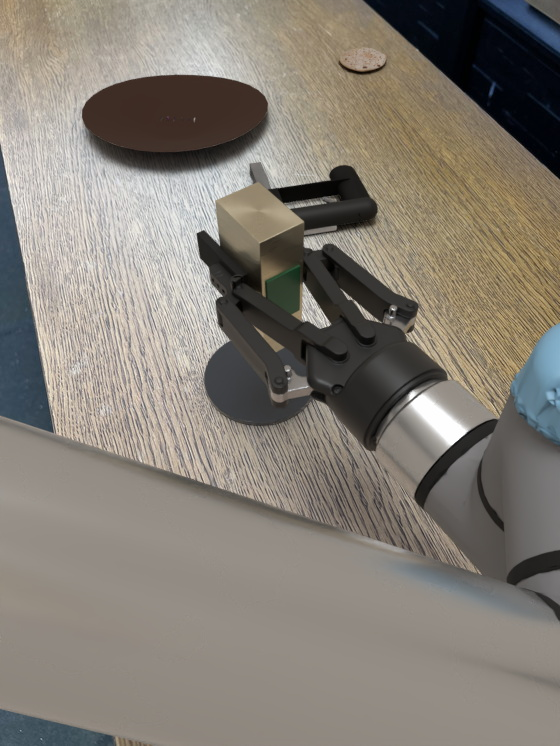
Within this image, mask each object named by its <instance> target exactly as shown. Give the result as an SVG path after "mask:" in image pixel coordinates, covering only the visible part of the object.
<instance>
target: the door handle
mask: <svg viewBox="0 0 560 746" xmlns="http://www.w3.org/2000/svg"><path fill="white" fill-rule="evenodd" d="M248 165H249V176H250V178H251V181H252V184H255V183H257V182H259V183H260V184H261V185H263V186H264V187H265V188H266V189H267V190H268V191H270V192H271V193H272V194H273V195H274V196H275V197H276V198H278V199H279V200H280V201H281V202H282V203H283V204H284V205H285V204H289V203H295V202H302V201H309V200H316V199H322V202H324V203H319V204H311V205H306V206H299V207H293V208H289V209H290V210H291V211H292V212H294V213H295V214H296V215H297V216H298V217H299V218H301V219H302V220H303V221H304V236H308V235H313V234H314V235H315V234H320V233H326V232H327V233H328V232H332V231H333V232H334V231H337V230H338V229H337V228H338V226H343V225H351V224H357V223H359V224H360V225H361V226H362V222H369V221H372V220H373V219H374V218H375V217H376V216H377V213H378V210H379V209H378V203H377V202H376V200H375V199H373V198H372V197H371V196H370V193H369V192H368V190H367V188H366V187H365V185H364V184H363V182H362V179H361V178H360V176H359V174H358V173H357V171H356V169H355V168H354V167H353V166H351V165H348V164H341V165H337V166H335V167H333V168H332V169H331V170H330V171H329V175H328V176H329V180H323V181H315V182H309V183H301V184H295V185H289V186H281V187H275V188H272V186H271V184H270V182H269V181H270V180H269V179H268V176H267V174H266V171H265V169H264V167H263V163H262V161H258V162H250V163H249V164H248ZM334 196H338V197H339V199H340V200H338V201H335V200H333V199H331V198H330V197H334Z"/></svg>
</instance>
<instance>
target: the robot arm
mask: <svg viewBox="0 0 560 746" xmlns="http://www.w3.org/2000/svg"><path fill="white" fill-rule="evenodd" d="M196 240H197V248H198V255H199V259H200V260H201V262H203V263H204V265H206V266H207V267H208V272H209V280H210V283H211V284H210V285H212V287H214V288H215V290H216V291H217V292H218V293H219V294H220V295H221V296H219V297H217V298H216V300H215V303H214V304H215V311H216V318H217V326H218V328H220V330H221V331H222V332H223V334H224V335H225V336H226V337H227V338H228V341H231V342H232V343H233V345H234V346H235V347H236V348H237V349H238V351H239V352H240V353H241V354H242V356H243V357H244V358H245V359H246V361H247V362H248V363H249V364H250V365H251V367H252V368H253V369H254V370H255V372H256V373H257V374H258V375H259V377H260V378H261V379H262V380H263V381H264V383H265V384H266V385H267V389H268V392H269V396H270V400H271V403H272V405H273V406H274V407H275V408H278V409H282V408H284V407H286V406H287V404H288V399H292V398H297V397H302V396H307V395H310V396H311V397H312V400H315V401H316V402H320V403H321V404H324V405H325V406H327V407H328V408H329V409H330V410H331V411H332V413H333V414H334V416H335V417H336V418H337V419H338V420H339V422H340V423H341V424H342V425H343V426H344V427H345V428H346V429H347V431H349V432H350V434H352V436H353V437H354V438H355V439H356V440H357V441H358V442H359V444H360V445H362V446H363V448H365V450H367V451H370V452H375V454H374V456H375V459H376V462H378V463H379V464H380V465H381V467H382V468H383V469H384V470H385V471H386V472H387V473H388V474H389V475H390V476H391V477H392V479H394V480H395V481H396V482H397V484H398V485H399V486H400V487H401V488H402V489H403V490H404V491H405V492H406V493H407V494H408V495H409V496H410V497H411V498H412V499H413V501H414V502H415V503H416V505H418V506H419V507H420V508H421V509H422V511H424V512H425V513H426V514H427V516H429V517H430V518H431V519H432V521H434V523H435V524H436V525H437V526H438V527H439V529H441V530H442V532H444V534H445V535H446V536H447V537H448V538H449V539H450V541H452V543H453V544H454V545H455V546H456V547H457V548H458V549H459V550H460V552H461V553H462V554H463V555H464V556H465V558H467V559H468V560H469V562H470V563H471V564H472V565H473V566H474V567H475V568H476V569H477V570H478V571H479V573H478V572H475V571H473V570H469V569H465V568H463V567H460V566H457V565H454V564H451V563H447V562H446V561H441V560H438V559H436V558H432V557H429V556H427V555H424V554H421V553H417V552H415V551H411V550H408V549H405V548H403V547H399V546H396V545H393V544H391V543H387V542H384V541H381V540H378V539H375V538H373V537H370V536H366V535H363V534H360V533H356V532H354V531H350V530H348V529H346V528H342V527H340V526H335V525H333V524H329V523H327V522H324V521H320V520H317V519H314V518H311V517H309V516H305V515H302V514H299V513H296V512H294V511H290V510H287V509H285V508H281V507H278V506H275V505H272V504H269V503H266V502H263V501H260V500H257V499H254V498H251V497H248V496H245V495H242V494H239V493H236V492H233V491H229V490H226V489H223V488H220V487H218V486H215V485H212V484H209V483H205V482H203V481H200V480H197V479H193V478H190V477H187V476H184V475H182V474H179V473H175V472H173V471H169V470H167V469H163V468H161V467H157V466H154V465H151V464H149V463H145V462H142V461H138V460H136V459H133V458H130V457H127V456H123V455H121V454H118V453H115V452H111V451H109V450H106V449H103V448H99V447H96V446H93V445H90V444H87V443H84V442H82V441H78V440H75V439H72V438H69V437H66V436H63V435H60V434H57V433H54V432H51V431H48V430H45V429H42V428H39V427H36V426H32V425H30V424H27V423H24V422H20V421H18V420H15V419H12V418H9V417H6V416H3V415H0V710H1V711H2V710H3V711H7V712H11V713H15V714H19V715H24V716H28V717H32V718H36V719H40V720H45V721H49V722H53V723H57V724H61V725H65V726H69V727H74V728H78V729H82V730H86V731H91V732H95V733H99V734H104V735H107V736H112V737H115V738H121V739H124V740H128V741H132V742H136V743H141V744H145V745H149V746H560V322H558V323H556V324H555V325H553V326H551V327H550V328H549V329H548V330H547V331H545V332H544V333H543V335H542V336H541V337H540V338H539V339H538V340H537V342H536V344H535V345H534V347H533V349H532V351H531V352H530V354H529V356H528V358H527V360H526V361H525V362H524V365H523V366H522V367H521V368H520V369H519V371H518V373H517V372H516V373H515V375H514V376H513V380H512V381H511V383H510V386H509V394H508V397H507V399H506V401H505V404H504V407H503V409H502V411H501V413H500V415H499V417H498V416H497V415H495V414H494V413H493V412H492V411H491V410H490V409H489V408H488V407H487V406H485V404H484V403H482V402H481V401H480V400H479V399H478V398H477V397H476V396H475V395H474V394H472V393H471V391H469V390H468V389H467V388H466V387H465V386H464V385H463V384H462V383H461V382H459V380H455V379H449V378H448V377H449V376H448V373H447V371H446V370H445V369H444V368H443V367H442V366H441V365H440V364H438V363H437V362H436V361H435V360H434V359H433V358H432V357H431V356H430V355H428V354H427V353H426V352H425V351H424V350H423V349H422V348H421V347H420V346H418V345H417V344H416V343H414V342H412V341H408V339H407V335H406V334H410V333H412V332H413V331H414V329H415V325H416V321H417V317H418V311H419V308H420V306H419V304H418V302H417V301H415V300H413V299H411V298H408V297H406V296H404V295H401V294H399V293H396V292H394V291H393V290H392V289H390V288H389V287H388V286H387V285H385V284H384V283H383V282H382V281H380V280H379V279H378V278H377V277H375V276H374V275H373V274H372V273H370V272H369V271H368V270H367V269H366V268H364V267H363V266H362V265H361V264H359V263H358V262H357V261H355V260H354V259H353V258H352V257H350V255H348V254H347V253H345V252H344V251H343V249H341V248H339V247H338V246H337V245H336V244H334V243H326V244H325V243H324V244H323V245H322V247H321V249H316V250H314V249H312V248H309V247H305V246H304V254H303V285H304V286H305V287H306V289H307V290H308V292H309V293H310V295H311V296H312V298H313V299H314V301H315V302H316V304H317V306H318V307H319V308H320V310H321V312H322V313H323V314H324V316H325V317H326V319H327V320H328V322H329V324H330V325H328V326H324V327H321V328H320V327H318V326H317V325H315V324H313V323H312V322H310V321H308V320H305V321H303V320H302V321H300V320H299V319H297V318H296V317H294V316H293V315H291V314H290V313H288V312H287V311H285V310H284V309H282V308H281V307H279V306H278V305H276V304H275V303H273V302H272V301H270V300H269V299H267V298H266V297H264V296H263V295H261V294H260V293H258V292H257V291H255V290H254V289H252V288H251V287H249V286H248V276H247V273H246V272H245V271H244V270H243V269H242V268H241V267H240V266H239V265H238V264H237V263H236V262H235V261H234V260H233V259H232V258H231V257H230V256H229V255H228V254H227V253H226V252H225V251H224V250H223V249H222V248H221V247H220V243H218V242H217V241H216V240H215V239H214V238H213V237H212V236H211V235H210V234H209V233H208V232H207V231H206V230H205V229H203V230H200V231H198V232H196ZM346 295H347V296H349V297H350V298H351V299H349V298H348V297H347V296H346ZM355 302H356V303H357V304H358V305H359V306H360V307H362V308H363V309H364V310H365V311H366V312H368V313H369V314H370V315H371V316H372V317H373V318H374V319H376V320H377V321H375V320H371V319H367V318H366V317H365V316H364V314H363V313H362V311H361V310H360V308H359V307H358V306H357V304H356V303H355ZM255 327H256V328H257V329H259V330H260V331H262V332H263V333H264V334H266V335H267V336H269V337H270V338H272V339H273V340H274V341H276V342H277V343H279V344H280V345H282V346H283V347H284V348H286V349H287V350H289V351H290V352H291V353H292V354H293V355H294V357H295V359H296V360H297V361H298V362H300V363H301V364H303V365H304V366H306V377H302V376H299V375H297V374H296V372H295V371H294V370H293V369H292V368H291V366H289V365H285V366H284V365H283V363H282V361H281V359H280V357H279V356H278V354H277V353H276V352H275V351H274V349H273V348H272V347H271V346H270V345H269V344H268V342H267V341H266V340H265V339H264V338H263V337H262V335H261V334H260V333H259V332H258V331H257V330H256V328H255Z"/></svg>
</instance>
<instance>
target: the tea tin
mask: <svg viewBox="0 0 560 746" xmlns="http://www.w3.org/2000/svg"><path fill="white" fill-rule="evenodd" d="M214 203H215V211H216V212H215V213H216V222H217V230H218V231H217V232H218V240H219V245H220V247H221V248H222V249H223V250H224V251H225V252H226V253H227V254H228V255H229V256H230V257H231V258H232V259H233V260H234V261H235V262H236V263H237V264H238V265H239V266H240V267H241V268H242V269H243V270H244V271H245V272H246V273H247V276H248V286H249V287H251V288H252V289H254V290H255V291H257V292H258V293H260V294H261V295H263V296H264V297H266V298H267V299H269V300H270V301H272V302H273V303H275V304H276V305H278V306H279V307H281V308H282V309H284V310H285V311H287V312H288V313H290V314H291V315H293V316H294V317H296V318H297V319H299V320H300V321H302V322H303V297H304V296H303V295H304V294H303V293H304V292H303V291H304V290H303V289H304V283H303V254H304V247H305V235H304V221H303V220H302V219H301V218H299V217H298V216H297V215H296V214H295V213H294V212H292V211H291V210H290V209H291V208H289V207H288V205H286V204H285V203H284V204H283V203H282V202H281V201H280V200H279V199H278V198H276V197H275V196H274V195H273V194H272V193H271V192H270V191H268V190H267V189H266V188H265V187H264V186H263V185H261V184H260V183H259V182H257V183H255V184H253V183H252V184H250V185H248V186H245V187H243V188H241V189H239V190H236V191H234V192H232V193H229V194H227V195H224V196H223V197H220V198H218V199H216V200H214ZM255 328H256V327H255ZM256 330H257V331H258V332H259V333H260V334H261V335H262V337H263V338H264V339H265V340H266V341H267V342H268V344H269V345H270V346H271V347H272V348H273V349H274V351H275V352H278V351H279V350H281V349H283V348H284V347H283V346H282V345H280V344H279V343H277V342H276V341H274V340H273V339H272V338H270V337H269V336H267V335H266V334H264V333H263V332H262V331H260V330H259V329H257V328H256Z"/></svg>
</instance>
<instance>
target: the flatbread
mask: <svg viewBox="0 0 560 746" xmlns="http://www.w3.org/2000/svg"><path fill="white" fill-rule="evenodd" d="M387 59H388V57H387V54H386V53H382V52H381V51H379V50H377V49H375V48H372V47H369V46H368V47H366V46H365V47H356V48H352V49H347V50H345V51H344V52H342V53H340V54H339V56H338V61H339V62H340V64H341V65H342V66H344V67H345V68H347V69H349V70H352V71H356V72H363V73H364V72H369V71H374V70H376V69H379V68H381V67H383V66H384V65H385V64H386V63H387Z"/></svg>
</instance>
